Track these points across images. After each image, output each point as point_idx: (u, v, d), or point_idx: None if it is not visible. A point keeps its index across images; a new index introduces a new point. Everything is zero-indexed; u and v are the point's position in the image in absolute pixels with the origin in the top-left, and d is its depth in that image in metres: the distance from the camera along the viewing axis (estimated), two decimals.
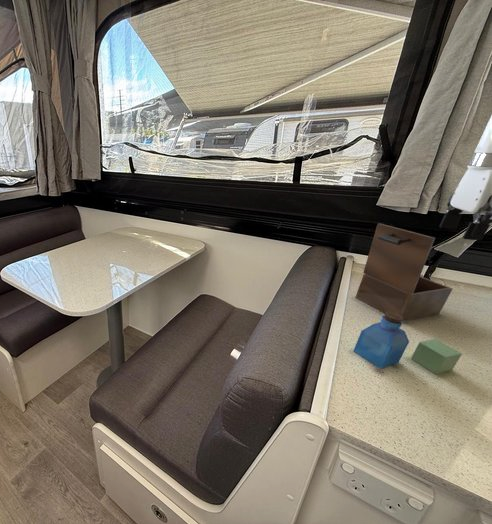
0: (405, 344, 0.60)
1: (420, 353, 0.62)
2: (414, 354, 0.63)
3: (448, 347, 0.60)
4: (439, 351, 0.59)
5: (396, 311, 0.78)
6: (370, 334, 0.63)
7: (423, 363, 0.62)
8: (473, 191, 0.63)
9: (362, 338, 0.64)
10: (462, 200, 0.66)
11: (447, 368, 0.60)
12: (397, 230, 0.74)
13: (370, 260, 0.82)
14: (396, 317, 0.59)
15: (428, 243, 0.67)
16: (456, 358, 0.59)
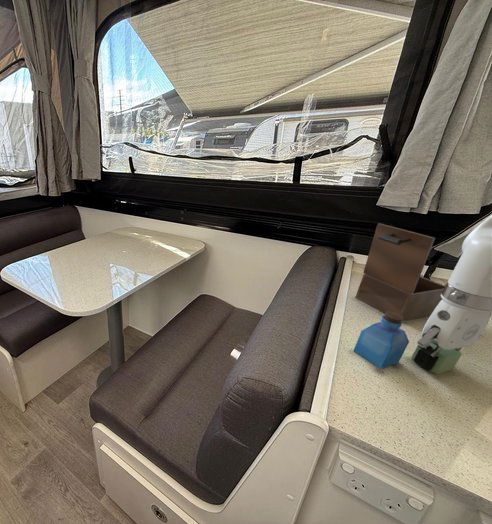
0: (404, 344, 0.60)
1: None
2: (414, 354, 0.63)
3: None
4: None
5: (396, 311, 0.78)
6: (370, 334, 0.63)
7: None
8: None
9: (362, 338, 0.64)
10: None
11: (447, 368, 0.60)
12: (397, 230, 0.74)
13: (370, 260, 0.82)
14: (396, 317, 0.59)
15: (428, 243, 0.67)
16: (456, 358, 0.59)
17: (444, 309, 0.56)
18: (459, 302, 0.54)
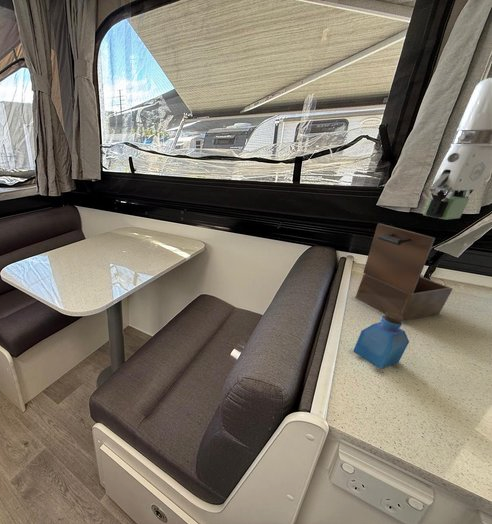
0: (405, 344, 0.60)
1: None
2: (426, 209, 0.71)
3: (456, 197, 0.68)
4: (448, 198, 0.67)
5: (396, 311, 0.78)
6: (370, 334, 0.63)
7: None
8: None
9: (362, 338, 0.64)
10: None
11: (455, 215, 0.68)
12: (397, 230, 0.74)
13: (370, 260, 0.82)
14: (396, 317, 0.59)
15: (428, 243, 0.67)
16: (463, 204, 0.67)
17: (454, 152, 0.63)
18: (467, 141, 0.61)
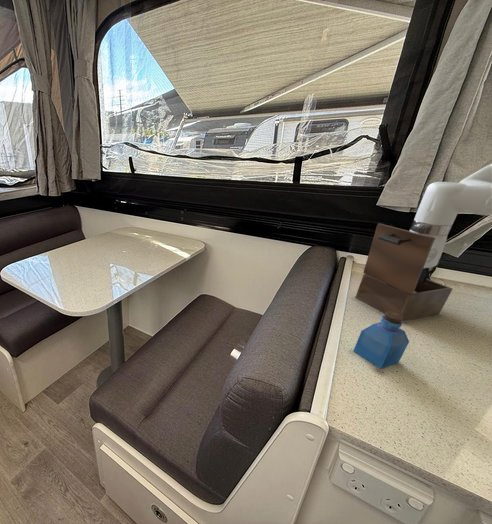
0: (404, 344, 0.60)
1: None
2: None
3: None
4: None
5: (396, 311, 0.78)
6: (370, 334, 0.63)
7: None
8: None
9: (362, 338, 0.64)
10: None
11: None
12: (397, 230, 0.74)
13: (370, 260, 0.82)
14: (396, 317, 0.59)
15: (428, 243, 0.67)
16: None
17: None
18: (421, 231, 0.73)
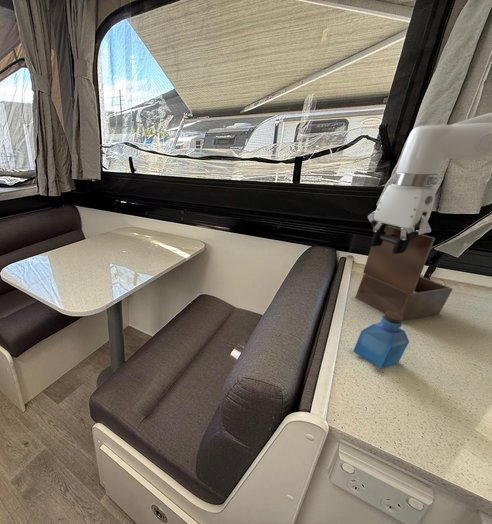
0: (404, 344, 0.60)
1: None
2: None
3: None
4: None
5: (396, 311, 0.78)
6: (370, 334, 0.63)
7: None
8: (405, 209, 0.66)
9: (362, 338, 0.64)
10: (392, 216, 0.69)
11: None
12: (397, 230, 0.74)
13: (370, 260, 0.82)
14: (396, 317, 0.59)
15: (428, 243, 0.67)
16: None
17: (428, 195, 0.63)
18: None
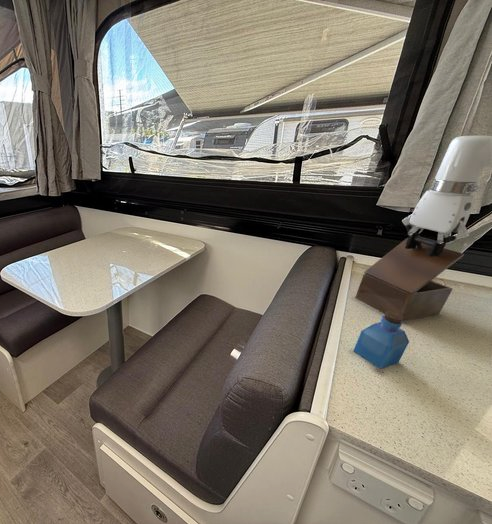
0: (404, 344, 0.60)
1: None
2: None
3: None
4: None
5: (396, 311, 0.78)
6: (370, 334, 0.63)
7: None
8: (444, 214, 0.70)
9: (362, 338, 0.64)
10: (430, 221, 0.73)
11: None
12: (427, 244, 0.79)
13: (380, 263, 0.84)
14: (396, 317, 0.59)
15: (456, 256, 0.72)
16: None
17: (467, 201, 0.67)
18: None
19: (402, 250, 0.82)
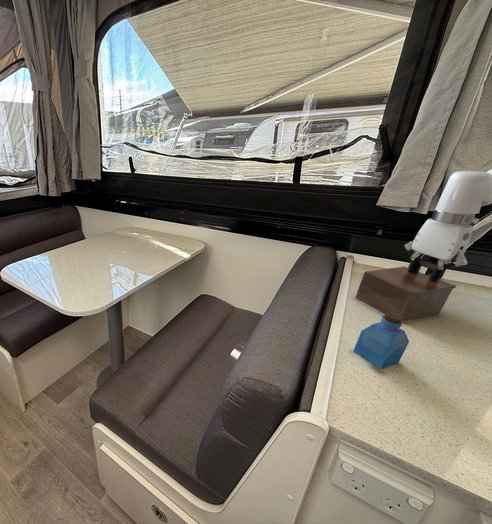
0: (404, 344, 0.60)
1: None
2: None
3: None
4: None
5: (396, 311, 0.78)
6: (370, 334, 0.63)
7: None
8: (444, 243, 0.75)
9: (362, 338, 0.64)
10: (430, 248, 0.78)
11: None
12: (422, 273, 0.84)
13: (380, 271, 0.85)
14: (396, 317, 0.59)
15: (450, 285, 0.77)
16: None
17: (466, 232, 0.72)
18: None
19: (400, 270, 0.86)
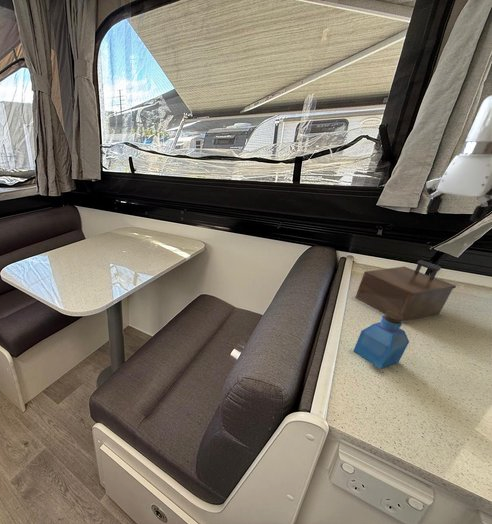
0: (404, 344, 0.60)
1: None
2: None
3: None
4: None
5: (396, 311, 0.78)
6: (370, 334, 0.63)
7: None
8: (476, 177, 0.68)
9: (362, 338, 0.64)
10: (460, 186, 0.71)
11: None
12: (422, 273, 0.84)
13: (380, 271, 0.85)
14: (396, 317, 0.59)
15: (450, 285, 0.77)
16: None
17: None
18: None
19: (400, 270, 0.86)
